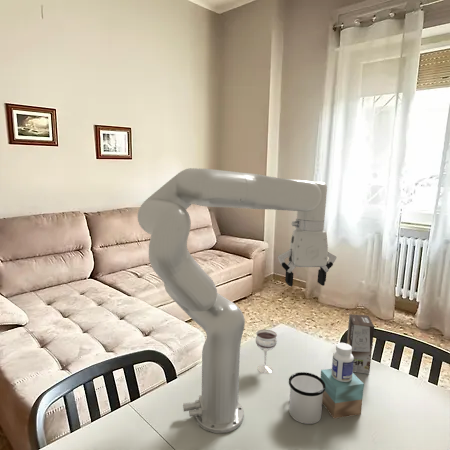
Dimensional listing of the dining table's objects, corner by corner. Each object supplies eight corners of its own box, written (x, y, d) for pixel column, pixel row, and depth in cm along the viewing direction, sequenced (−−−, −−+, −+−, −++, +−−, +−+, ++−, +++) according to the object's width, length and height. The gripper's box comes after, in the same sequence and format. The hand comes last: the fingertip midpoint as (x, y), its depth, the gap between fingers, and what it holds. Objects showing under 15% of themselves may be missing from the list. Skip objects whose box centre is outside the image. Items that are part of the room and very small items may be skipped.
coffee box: (370, 374, 111) (375, 327, 108) (349, 371, 112) (353, 324, 110) (364, 359, 120) (369, 315, 117) (345, 357, 121) (349, 313, 118)
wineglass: (279, 370, 112) (281, 335, 110) (265, 377, 108) (267, 341, 106) (264, 360, 117) (266, 327, 115) (250, 367, 113) (251, 333, 111)
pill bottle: (353, 375, 95) (356, 344, 94) (349, 385, 91) (352, 353, 89) (333, 369, 98) (336, 339, 96) (329, 378, 93) (331, 347, 92)
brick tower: (333, 418, 91) (336, 387, 90) (318, 399, 99) (321, 369, 97) (360, 414, 93) (363, 383, 91) (344, 395, 101) (346, 366, 99)
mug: (330, 422, 89) (333, 390, 88) (297, 429, 87) (299, 396, 85) (306, 393, 101) (308, 364, 99) (276, 399, 98) (278, 369, 97)
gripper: (285, 227, 92) (281, 289, 95) (345, 228, 96) (339, 288, 98) (275, 223, 99) (272, 281, 102) (331, 224, 103) (326, 279, 105)
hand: (305, 284), depth 100 cm, fingers open, 9 cm apart
